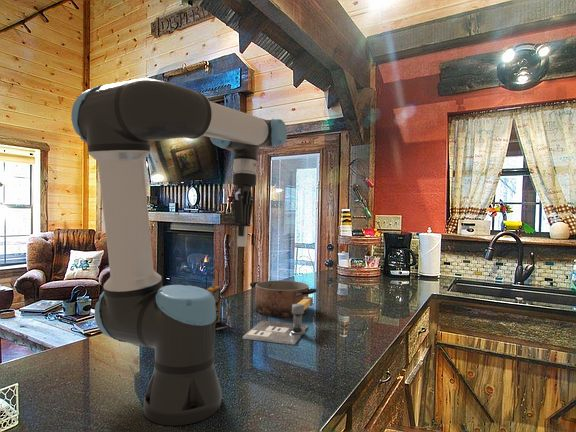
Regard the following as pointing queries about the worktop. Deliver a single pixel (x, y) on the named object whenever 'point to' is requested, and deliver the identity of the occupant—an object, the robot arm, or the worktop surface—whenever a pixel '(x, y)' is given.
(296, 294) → the cooking pot
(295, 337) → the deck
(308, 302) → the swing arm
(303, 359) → the worktop surface
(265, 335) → the label
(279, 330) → the label
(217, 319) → the multimeter
